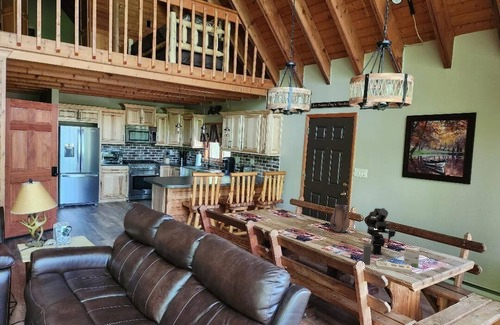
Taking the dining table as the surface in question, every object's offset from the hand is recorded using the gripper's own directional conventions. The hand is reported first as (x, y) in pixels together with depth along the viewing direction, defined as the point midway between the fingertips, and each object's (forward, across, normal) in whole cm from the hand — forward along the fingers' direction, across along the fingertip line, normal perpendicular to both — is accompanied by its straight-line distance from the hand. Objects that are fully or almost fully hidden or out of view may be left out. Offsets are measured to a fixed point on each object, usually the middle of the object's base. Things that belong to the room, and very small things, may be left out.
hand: (381, 241), depth 239 cm
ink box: (+11, +20, +9) cm, 24 cm away
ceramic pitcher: (-42, -27, +61) cm, 79 cm away
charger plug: (+19, -11, 0) cm, 22 cm away
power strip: (+21, +6, -2) cm, 22 cm away
